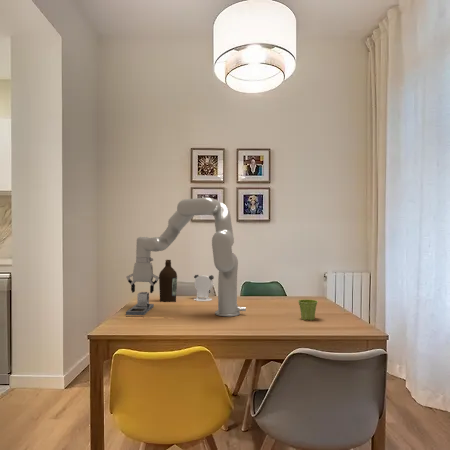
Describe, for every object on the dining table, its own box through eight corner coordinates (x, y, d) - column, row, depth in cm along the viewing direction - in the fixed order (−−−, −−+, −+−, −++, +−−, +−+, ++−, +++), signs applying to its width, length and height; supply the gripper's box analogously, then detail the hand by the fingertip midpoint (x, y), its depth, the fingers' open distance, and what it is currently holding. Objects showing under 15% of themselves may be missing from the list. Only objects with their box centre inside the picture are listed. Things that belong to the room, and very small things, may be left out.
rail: (153, 308, 221) (153, 303, 221) (144, 317, 199) (144, 311, 199) (137, 308, 221) (137, 303, 222) (125, 316, 199) (125, 311, 200)
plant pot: (306, 322, 190) (306, 303, 190) (294, 318, 198) (294, 300, 198) (322, 320, 194) (322, 301, 194) (309, 316, 203) (309, 298, 203)
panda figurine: (215, 298, 254) (215, 274, 254) (210, 301, 243) (210, 276, 243) (196, 297, 257) (196, 273, 257) (191, 300, 246) (191, 275, 246)
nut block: (148, 307, 219) (149, 291, 219) (146, 309, 214) (146, 293, 214) (139, 307, 219) (139, 291, 219) (137, 309, 214) (137, 293, 214)
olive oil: (156, 303, 236) (156, 260, 236) (162, 300, 246) (162, 259, 247) (173, 304, 234) (174, 260, 234) (179, 301, 244) (179, 259, 245)
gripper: (160, 260, 220) (159, 291, 220) (129, 259, 221) (128, 290, 221) (158, 261, 213) (157, 294, 212) (125, 260, 213) (124, 293, 213)
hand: (142, 292), depth 217 cm, fingers open, 9 cm apart
